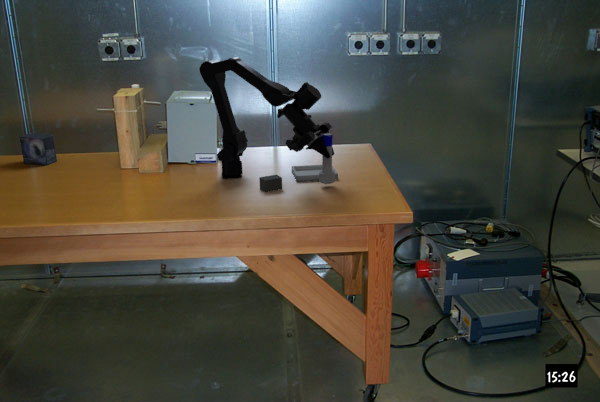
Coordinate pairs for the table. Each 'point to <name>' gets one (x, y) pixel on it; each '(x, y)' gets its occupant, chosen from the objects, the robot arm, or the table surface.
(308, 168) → the tray
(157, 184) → the table surface
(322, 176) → the bolt
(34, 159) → the small box
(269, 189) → the block
